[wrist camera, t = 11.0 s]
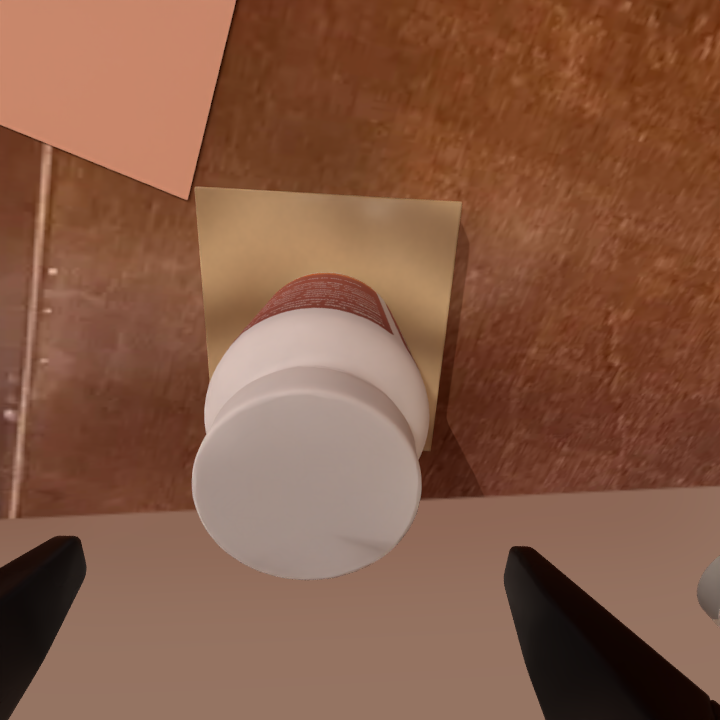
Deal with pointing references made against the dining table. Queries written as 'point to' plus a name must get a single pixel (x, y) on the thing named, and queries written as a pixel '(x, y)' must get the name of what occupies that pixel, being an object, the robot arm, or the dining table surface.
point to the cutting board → (329, 261)
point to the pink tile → (115, 80)
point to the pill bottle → (313, 434)
